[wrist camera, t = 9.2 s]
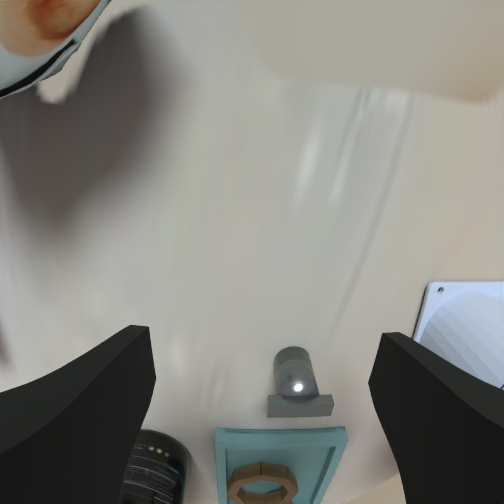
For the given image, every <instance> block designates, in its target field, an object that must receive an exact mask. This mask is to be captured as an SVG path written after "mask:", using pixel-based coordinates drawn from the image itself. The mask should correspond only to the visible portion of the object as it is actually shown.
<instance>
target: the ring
mask: <svg viewBox="0 0 504 504" xmlns="http://www.w3.org/2000/svg"><path fill="white" fill-rule="evenodd" d="M260 480H263V481H270V482H276V483H282V485H283V487H282V488H281V490H279V491H275V492H271V493H268V494H264V495H261V494H255V493H249V492H245V491H244V490H243V489H242V488H241V486H242V485H245V484H249V483H253V482H256V481H260ZM297 493H298V485H297V479H296V477H295V476H294V475H293V474H292V472H291V471H290V470H289V468H288V467H286V466H282V465H276V464H270V463H265V462H261V463H260V462H258V463H254V464H251V465H247V466H243V467H240V468H236V469H235V470H234V471H233V473H232V475H231V477H230V479H229V480H228V482H227V496H228V497H229V498H230V499H231V500H232V501H233V502H234V503H235V504H293V503H292V502H291V500H292V499H293V498H294V497H295V495H296V494H297Z"/></svg>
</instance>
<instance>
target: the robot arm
mask: <svg viewBox="0 0 504 504" xmlns="http://www.w3.org/2000/svg"><path fill="white" fill-rule="evenodd" d="M440 287H441V289H440V291H439V292H438V289H439V288H440ZM155 381H156V374H155V368H154V361H153V354H152V347H151V340H150V332H149V327H147V326H137V325H129V326H127V327H126V328H124V329H122V330H121V331H119V332H117V333H116V334H114V335H113V336H111V337H110V338H108V339H107V340H105V341H104V342H102V343H101V344H99V345H97V346H96V347H94V348H93V349H91V350H90V351H88V352H87V353H85V354H83V355H82V356H80V357H78V358H77V359H75V360H73V361H71V362H70V363H68V364H66V365H64V366H63V367H61V368H59V369H57V370H55V371H53V372H51V373H49V374H47V375H45V376H43V377H41V378H39V379H36V380H34V381H32V382H29V383H27V384H24V385H22V386H19V387H16V388H13V389H10V390H7V391H4V392H1V393H0V504H118V500H119V495H120V490H121V486H122V481H123V477H124V473H125V469H126V466H127V462H128V459H129V457H130V454H131V451H132V449H133V446H134V444H135V441H136V439H137V436H138V434H139V431H140V428H141V426H142V423H143V421H144V418H145V416H146V413H147V411H148V408H149V405H150V402H151V398H152V394H153V390H154V386H155ZM368 384H369V388H370V392H371V397H372V400H373V404H374V408H375V410H376V413H377V415H378V418H379V420H380V423H381V425H382V428H383V430H384V432H385V435H386V437H387V440H388V442H389V445H390V447H391V450H392V452H393V455H394V457H395V460H396V462H397V465H398V469H399V472H400V476H401V480H402V484H403V489H404V493H405V499H406V504H504V281H488V282H431V283H430V284H429V285H428V286H427V289H426V293H425V297H424V301H423V305H422V309H421V313H420V316H419V320H418V323H417V327H416V330H415V334H414V337H413V339H411V338H409V337H408V336H406V335H404V334H402V333H400V332H393V333H382V336H381V340H380V344H379V348H378V351H377V355H376V358H375V362H374V365H373V369H372V372H371V375H370V379H369V382H368Z"/></svg>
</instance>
